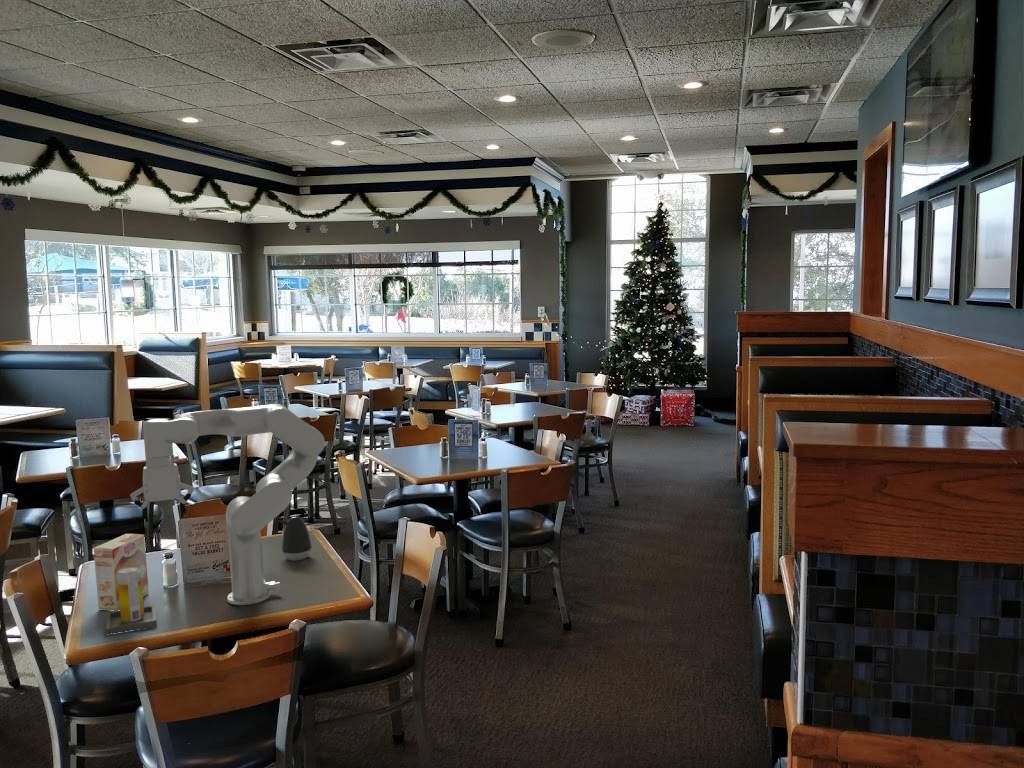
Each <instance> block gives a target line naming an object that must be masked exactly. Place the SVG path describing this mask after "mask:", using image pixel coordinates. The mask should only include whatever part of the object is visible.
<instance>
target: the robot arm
mask: <svg viewBox="0 0 1024 768" xmlns="http://www.w3.org/2000/svg"><path fill="white" fill-rule="evenodd" d="M142 431H143V443H144V455H145V466H144V467H143V469H142V470H143V471H142V486H141V487H140V488H138V489H137V490H135V491H134V492H132V493H130V496H129V497H130V498H131V500H132V502H133V503H134V504H135V505H137V507H138V508H140V509H141V510H142V511H141V514H142V520H144V521H145V523H148V522H149V516H148V515H149V513H148V504H149V503H152V502H160V501H170V500H175V499H176V500H178V501H179V511H180V518H184V517H185V516H184V515H186V514H187V513H186V512H187V511H186V509H187V508H186V503H187V502H188V501H189V500H190V498H192V497H191V496H192V495H193V493H194V491H195V488H194V486H192V485H189V484H187V483H185V482H184V483H183V482H181V478H180V471H179V467H178V465H177V463H175V462H176V461H180V456H179V455H175V454H174V447H173V446H174V445H173V444H190V443H193V442H195V441H196V440H197V439H198V438H199V437H201V436H207V435H222V436H228V437H245V436H251V435H258V434H260V435H261V434H268V433H269V434H270V433H271V434H273V435H274V436H275V437H276V438H278V439H279V440H281V441H282V442H283V443H285V444H286V445H288V446H289V447H291V448H292V449H291V451H290V453H289V454H288V455H287V457H286V458H285V459H284V460H283V461H282V462H281V463H280V464H279V465H277V466H276V467H275V468H274V469H272V470H271V471H270V472H269V473H267V474H266V475H264V477H262V478H261V479H260V480H259V481H258V482H257V484H256V488H255V493H254V494H253V495H252V496H251V497H249V496H245V495H243V496H237V497H236V498H234V499H232V500H230V502H229V503H228V505H227V506H226V510H225V519H226V529H227V537H228V538H227V539H228V550H229V551H228V552H229V564H230V579H231V580H230V582H231V592H230V593H229V594H228V595H227V598H226V599H227V602H228V603H229V604H231V605H235V606H247V605H249V606H250V605H254V604H259V603H262V602H264V601H266V600H268V599H269V598H270V596H271V590H278V589H281V583H280V581H278V582H275V580H272V581H268V582H267V581H266V580H265V577H264V576H265V575H264V574H265V573H264V562H263V561H264V560H263V549H262V548H263V544H262V534H261V533H262V531H261V530H262V529H264V528H265V527H266V526H267V525H269V523H271V522H272V521H273V520H274V519H276V518H277V517H278V516H279V515H281V513H283V512H284V511H285V510H286V509H287V507H288V506H289V505H290V503H291V501H292V498H293V490H294V489H295V488H296V487H298V486H299V485H300V484H301V483H302V482H303V481H304V480H305V479H306V478H307V477H309V475H310V474H311V473H312V472H313V470H314V468H315V466H316V464H317V461H318V457H319V455H320V454H321V453H322V452H323V450H324V448H325V444H326V443H325V442H326V440H325V437H324V434H322V433H321V431H320V430H318V429H317V428H316V427H314V426H312V425H310V424H309V423H308V422H306V421H305V420H303V419H302V418H300V417H299V416H298V415H296V414H295V413H293V411H291V410H290V409H289V408H287V407H286V406H285V405H283V404H279V403H270V404H269V403H268V404H262V405H253V406H246V407H236V408H225V409H210V410H199V411H193V412H192V411H191V412H190V411H189V412H184V413H180V414H179V415H178V414H177V415H176V416H175V417H174V418H173V419H172V420H169V419H168V418H152V419H151V418H150V419H148V420H145V421H144V422H143V425H142ZM182 489H184V490H187V493H185V495H184V496H183V495H182ZM141 494H143V498H144V499H143V500H142V501H141V500H140V499H139V498H138V497H137V496H140V495H141Z"/></svg>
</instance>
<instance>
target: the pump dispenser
mask: <svg viewBox="0 0 1024 768" xmlns="http://www.w3.org/2000/svg"><path fill="white" fill-rule="evenodd" d="M278 522H279V523H281V524H283V525H285V526H284V528H283V533H282V537H281V552H282V554H283V555H284V557H285V558H286V559H287V560H288V561H291V560H292V562H297V561H298V560H299V561H302V560H305V559H306V558H307V557H309V556H310V553H311V549H312V548H313V547H312V539H311V535H310V533H309V532H310V531H309V530H308V527H307V525H306V523H305V521H304V520H303V518H302V517H300V516H297V515H294V516H291V517H290V518H289V519H288V520H283V519H279V521H278Z"/></svg>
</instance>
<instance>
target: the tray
mask: <svg viewBox="0 0 1024 768" xmlns="http://www.w3.org/2000/svg"><path fill="white" fill-rule="evenodd" d="M143 609H144V617H143V618H142V620H141V621H139V622H136V623H130V624H126V623H124V622H123V621H122V620H121V614H120V611H114V612H112V611H107V612H106V620H105V635H106V634H111V633H112V634H113V633H118V632H125V631H130V630H137V629H143V630H145V629H144V628H148V629H152V628H151V627H154V628H158V624H157V611H156V604H153V605H152V604H150V605H146V606H144V605H143ZM137 631H138V630H137Z"/></svg>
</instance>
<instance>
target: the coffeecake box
mask: <svg viewBox="0 0 1024 768" xmlns="http://www.w3.org/2000/svg"><path fill="white" fill-rule="evenodd" d="M146 551H147V550H146V541H145V534H140V533H125V534H122V535H120V536H118V537H115V538H114V539H111V540H109V541H107V542H104V543H102V544H100V545H97V546H95V547H93V559H94V571H95V581H96V583H95V584H96V592H97V602H98V604H97V605H98V606H97V607H98V610H99V609H102V610H114V611H118V610H120V603H119V592H118V581H117V574H118V571H119V570H121V569H123V568H127V567H137V568H138V569H139V571H140V574H141V586H142V597H143V596H145V595H146V596H148V595H149V594H148V593H150V591H149V579H148V567H147V554H146ZM147 594H148V595H147ZM146 596H145V597H146ZM143 598H144V597H143Z"/></svg>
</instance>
